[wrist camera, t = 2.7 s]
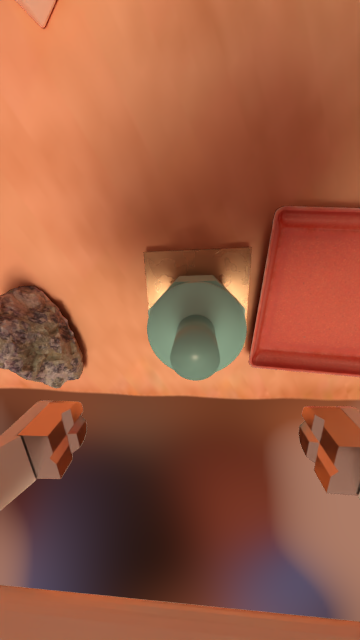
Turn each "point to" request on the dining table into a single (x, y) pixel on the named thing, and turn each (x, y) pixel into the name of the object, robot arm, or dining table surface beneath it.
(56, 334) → the mineral rock
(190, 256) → the post
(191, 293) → the cap
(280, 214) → the plant saucer
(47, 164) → the dining table surface
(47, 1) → the medicine bottle
